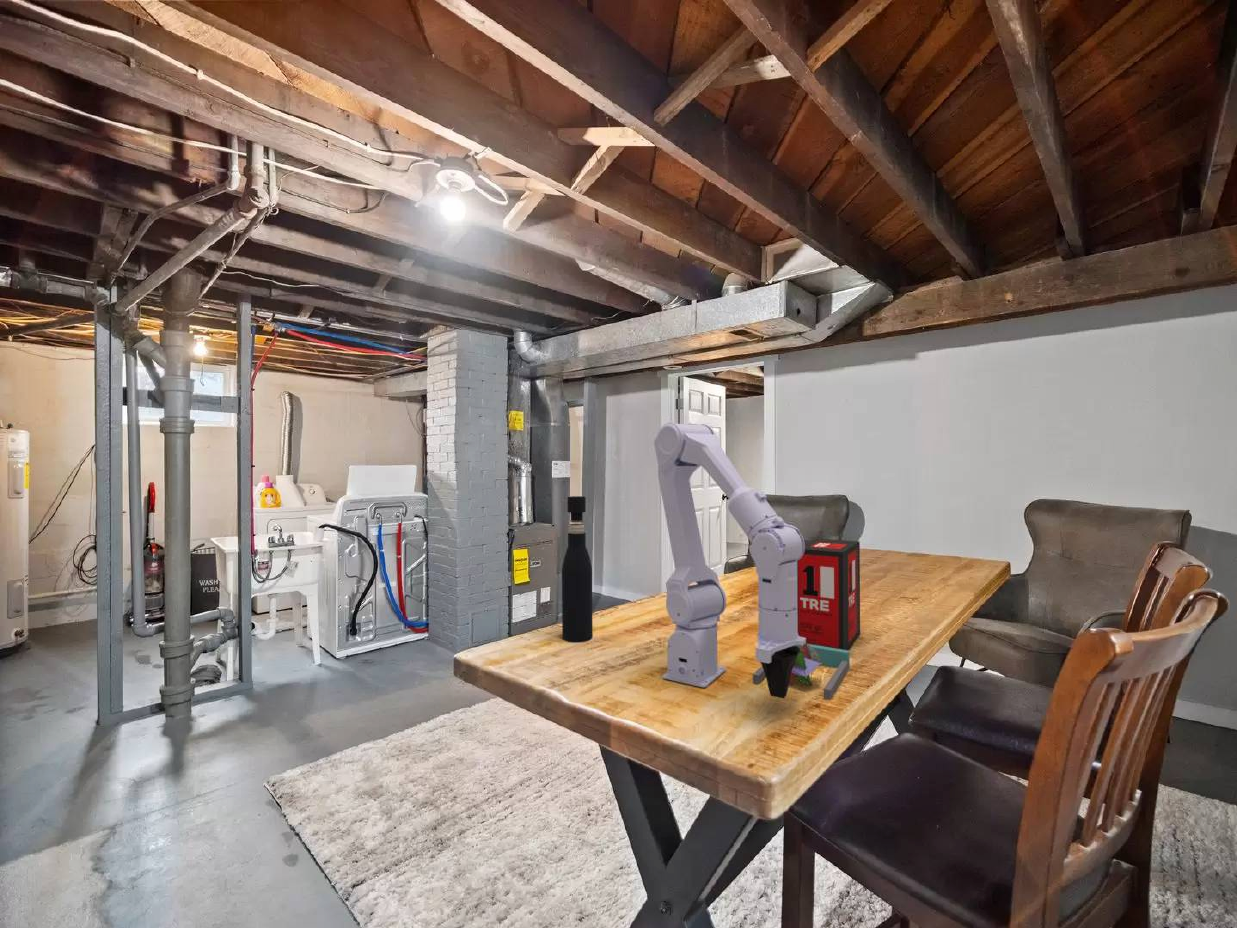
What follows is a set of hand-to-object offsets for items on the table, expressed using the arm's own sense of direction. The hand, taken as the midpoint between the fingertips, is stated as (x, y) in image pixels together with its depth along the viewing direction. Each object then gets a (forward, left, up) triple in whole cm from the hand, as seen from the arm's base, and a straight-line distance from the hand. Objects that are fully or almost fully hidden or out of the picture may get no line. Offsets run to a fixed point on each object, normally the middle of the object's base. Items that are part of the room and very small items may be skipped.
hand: (778, 695), depth 83 cm
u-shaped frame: (+14, 0, -2) cm, 14 cm away
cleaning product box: (+35, 0, -2) cm, 35 cm away
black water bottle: (+10, +46, -2) cm, 47 cm away
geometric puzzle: (+10, 0, -2) cm, 11 cm away
